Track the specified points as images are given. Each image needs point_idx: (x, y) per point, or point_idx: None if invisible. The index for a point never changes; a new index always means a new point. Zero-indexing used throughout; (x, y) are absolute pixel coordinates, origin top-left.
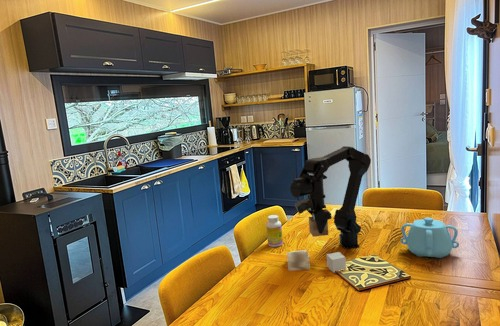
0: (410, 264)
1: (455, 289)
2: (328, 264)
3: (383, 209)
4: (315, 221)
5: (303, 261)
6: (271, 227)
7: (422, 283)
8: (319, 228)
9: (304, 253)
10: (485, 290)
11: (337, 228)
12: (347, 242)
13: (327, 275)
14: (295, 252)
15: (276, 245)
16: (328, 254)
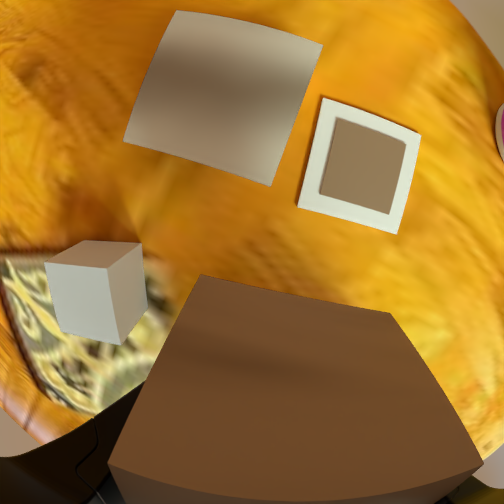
0: None
1: (15, 403)
2: (116, 248)
3: None
4: (125, 494)
5: (139, 104)
6: None
7: (24, 389)
8: (121, 408)
9: (239, 147)
10: (19, 422)
11: None
12: None
13: (69, 203)
14: (293, 95)
15: (498, 122)
16: (103, 279)
